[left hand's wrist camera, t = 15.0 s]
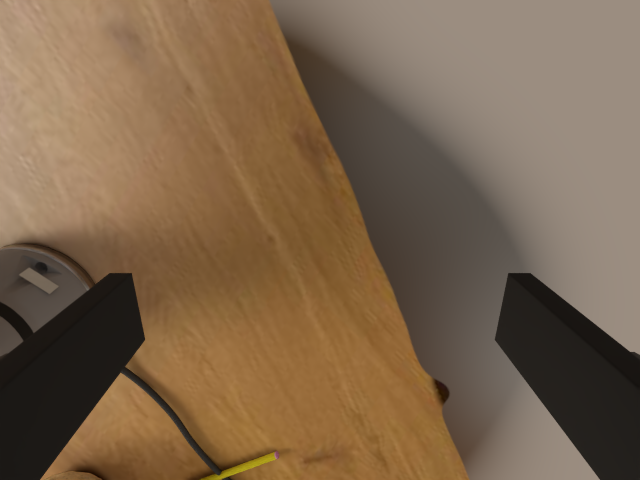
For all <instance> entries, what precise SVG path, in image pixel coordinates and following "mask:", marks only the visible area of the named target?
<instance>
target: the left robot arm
mask: <svg viewBox="0 0 640 480" xmlns="http://www.w3.org/2000/svg"><path fill="white" fill-rule="evenodd" d="M144 341H145V337H144V332H143V327H142V322H141V317H140V312H139V307H138V302H137V297H136V292H135V287H134V283H133V278H132V273H109V274H108V275H107V276H105V277H104V278H103V279H102V280H100V281H99V282H98V283H97V284H94V282H93V281H92V279H91V278H90V276H89V275H88V274H87V273H86V272H85V271H84V270H83V269H82V268H81V267H80V266H79V265H78V264H77V263H75V262H74V261H73V260H71V259H70V258H68V257H67V256H65V255H63V254H61V253H60V252H57V251H55V250H53V249H50V248H47V247H44V246H40V245H34V244H14V245H9V246H5V247H3V248H0V480H40V479H41V478H42V476H43V475H44V474H45V472H46V471H47V470H48V468H49V467H50V466H51V464H52V463H53V462H54V460H55V459H56V458H57V456H58V455H59V454H60V452H61V451H62V450H63V448H64V447H65V446H66V444H67V443H68V442H69V440H70V439H71V438H72V436H73V435H74V434H75V432H76V431H77V430H78V428H79V427H80V426H81V424H82V423H83V422H84V420H85V419H86V418H87V416H88V415H89V414H90V412H91V411H92V410H93V408H94V407H95V406H96V404H97V403H98V402H99V400H100V399H101V398H102V396H103V395H104V394H105V392H106V391H107V390H108V388H109V387H110V386H111V384H112V383H113V382H114V380H115V379H116V378H117V376H118V375H119V374H120V372H121V373H122V374H124V375H125V376H127V377H128V378H129V379H131V380H132V381H133V382H135V383H136V384H137V385H138V386H140V387H141V388H142V389H143V390H144V391H146V392H147V393H148V394H149V395H150V396H151V397H152V398H153V399H154V400H155V401H156V402H157V403H158V404H159V405H160V406H161V407H162V408H163V409H164V410H165V412H166V413H167V414H168V415H169V416H170V417H171V419H172V420H173V421H174V423H175V424H176V425H177V427H178V428H179V430H180V431H181V433H182V434H183V436H184V437H185V439H186V440H187V441H188V443H189V444H190V445H191V447H192V448H193V449H194V450H195V451H196V453H197V454H198V455H199V456H200V457H201V458H202V460H203V461H204V462H205V463H206V464H207V465H208V466H209V467H210V468H211V469H212V470H213V471H214V472H215V473H216V474H217V475H218V476H219V475H220V474H221V472H222V471H221V470H220V469H219V468H218V467H217V466H216V465H215V464H214V463H213V462H212V461H211V459H210V458H209V457H208V456H207V455H206V454H205V453H204V451H203V450H202V449H201V448H200V447H199V446H198V444H197V443H196V442H195V441H194V439H193V438H192V437H191V435H190V434H189V432H188V431H187V429H186V428H185V426H184V425H183V423H182V422H181V420H180V419H179V418H178V416H177V415H176V414H175V412H174V411H173V410H172V409H171V408H170V406H169V405H168V404H167V403H166V402H165V401H164V400H163V399H162V398H161V397H160V396H159V395H158V394H157V393H156V392H155V391H154V390H153V389H152V388H151V387H150V386H149V385H148V384H146V383H145V382H144V381H143V380H142V379H140V378H139V377H138V376H137V375H135V374H134V373H133V372H131V371H130V370H128V369H127V368H125V366H126V364H127V363H128V362H129V360H130V359H131V358H132V356H133V355H134V354H135V353H136V351H137V350H138V349H139V347H140V346H141V345H142V343H143V342H144ZM495 341H496V342H497V343H498V345H499V346H500V347H501V349H502V350H503V351H504V353H505V354H506V355H507V356H508V358H509V359H510V360H511V362H512V363H513V364H514V366H515V367H516V368H517V370H518V371H519V372H520V374H521V375H522V376H523V378H524V379H525V380H526V382H527V383H528V384H529V386H530V387H531V388H532V390H533V391H534V392H535V394H536V395H537V396H538V398H539V399H540V400H541V402H542V403H543V404H544V406H545V407H546V408H547V410H548V411H549V412H550V414H551V415H552V416H553V418H554V419H555V420H556V422H557V423H558V424H559V426H560V427H561V428H562V430H563V431H564V432H565V434H566V435H567V436H568V438H569V439H570V440H571V442H572V443H573V444H574V446H575V447H576V448H577V450H578V451H579V452H580V453H581V455H582V456H583V458H584V459H585V460H586V462H587V463H588V464H589V466H590V467H591V468H592V470H593V471H594V472H595V474H596V475H597V476H598V477H599V479H600V480H640V355H639V354H637V353H635V352H629V351H628V350H627V349H626V348H624V347H623V346H622V345H621V344H619V343H618V342H617V341H616V340H614V339H613V338H612V337H611V336H609V335H608V334H607V333H605V332H604V331H603V330H602V329H600V328H599V327H598V326H597V325H595V324H594V323H593V322H592V321H590V320H589V319H588V318H586V317H585V316H584V315H583V314H581V313H580V312H579V311H578V310H576V309H575V308H574V307H573V306H571V305H570V304H569V303H567V302H566V301H565V300H564V299H562V298H561V297H560V296H559V295H557V294H556V293H555V292H553V291H552V290H551V289H550V288H548V287H547V286H546V285H545V284H543V283H542V282H541V281H540V280H538V279H537V278H536V277H534V276H533V275H532V274H531V273H508V278H507V283H506V287H505V292H504V297H503V302H502V307H501V312H500V317H499V322H498V327H497V332H496V337H495ZM222 480H231V479H230V478H229V477H225V478H223V479H222Z"/></svg>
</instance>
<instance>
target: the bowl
mask: <svg viewBox="0 0 640 480" xmlns="http://www.w3.org/2000/svg"><path fill="white" fill-rule="evenodd" d="M45 480H102V479H101V478H98V477H97V476H95V475H93V474H91V473H85V472H75V471H68V472H63V473H60V474H57V475H54V476H51V477H49V478H47V479H45Z"/></svg>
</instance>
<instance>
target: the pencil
mask: <svg viewBox="0 0 640 480" xmlns="http://www.w3.org/2000/svg"><path fill="white" fill-rule="evenodd" d="M278 458H279V453H278V452H277V451H276V452H273V453H270V454H267V455H265V456H262V457H259V458H256V459H254V460H251V461H248V462H246V463H243V464H240V465H237V466H235V467H232V468H229V469H226V470H224V471H222V472H221V474H220V475H219V476H218V475H217V474H213V475H210V476H207V477H205V478H202V479H199V480H220V479H223V478H225V477H228V476H231V475H234V474H237V473H239V472H242V471H245V470H248V469H250V468H253V467H256V466H259V465H261V464H264V463H267V462H270V461H272V460H275V459H278Z"/></svg>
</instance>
